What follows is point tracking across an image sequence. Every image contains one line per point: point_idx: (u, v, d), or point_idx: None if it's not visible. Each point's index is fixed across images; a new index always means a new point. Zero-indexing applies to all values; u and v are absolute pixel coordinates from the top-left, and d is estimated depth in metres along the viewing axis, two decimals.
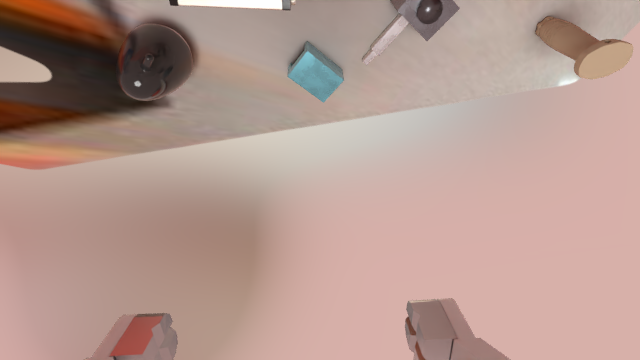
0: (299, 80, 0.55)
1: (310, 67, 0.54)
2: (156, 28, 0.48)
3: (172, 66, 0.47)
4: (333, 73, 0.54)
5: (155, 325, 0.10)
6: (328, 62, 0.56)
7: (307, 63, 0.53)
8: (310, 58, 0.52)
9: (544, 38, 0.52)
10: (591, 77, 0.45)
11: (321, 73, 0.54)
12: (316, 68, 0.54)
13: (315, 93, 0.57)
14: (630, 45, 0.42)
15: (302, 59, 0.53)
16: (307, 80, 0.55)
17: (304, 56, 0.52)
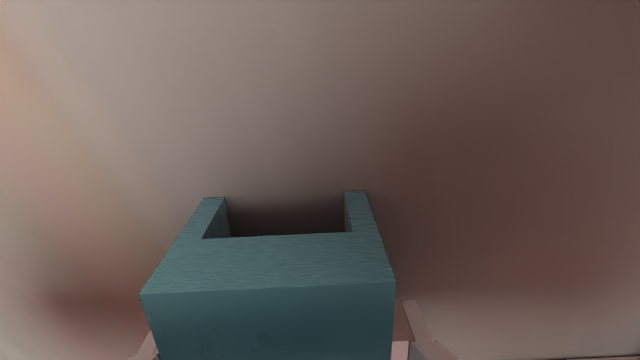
0: (189, 358, 0.08)
1: (315, 354, 0.08)
2: None
3: None
4: None
5: None
6: None
7: (323, 329, 0.07)
8: (365, 320, 0.07)
9: None
10: None
11: None
12: None
13: None
14: None
15: (322, 293, 0.07)
16: None
17: (349, 289, 0.07)
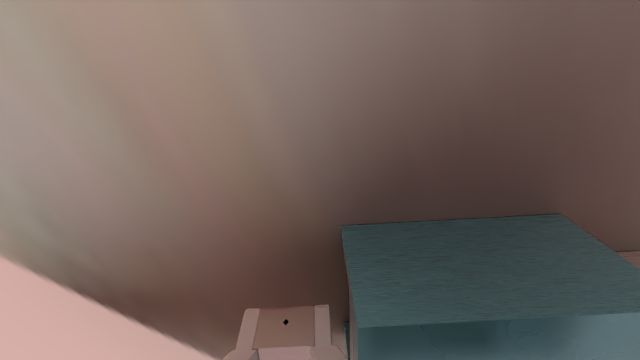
0: None
1: None
2: None
3: None
4: (601, 320, 0.08)
5: (285, 318, 0.10)
6: (499, 252, 0.10)
7: None
8: (403, 344, 0.08)
9: None
10: None
11: None
12: (476, 359, 0.08)
13: None
14: None
15: None
16: None
17: (365, 355, 0.08)
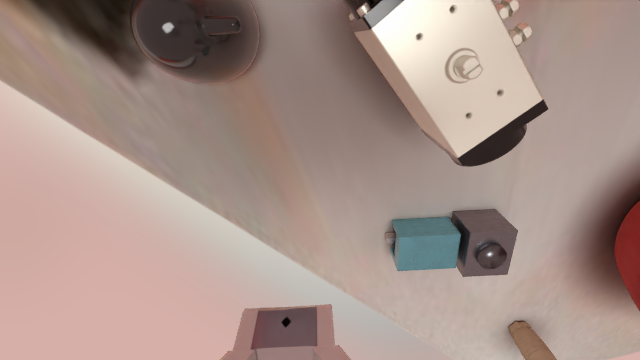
0: (412, 266, 0.44)
1: (414, 248, 0.42)
2: (249, 5, 0.30)
3: (230, 61, 0.28)
4: (443, 236, 0.42)
5: (283, 318, 0.10)
6: (429, 225, 0.44)
7: (408, 247, 0.42)
8: (407, 241, 0.42)
9: (520, 342, 0.51)
10: None
11: (430, 245, 0.42)
12: (421, 244, 0.42)
13: (439, 265, 0.44)
14: None
15: (400, 247, 0.42)
16: (421, 260, 0.43)
17: (400, 243, 0.42)
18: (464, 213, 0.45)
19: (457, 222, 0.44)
